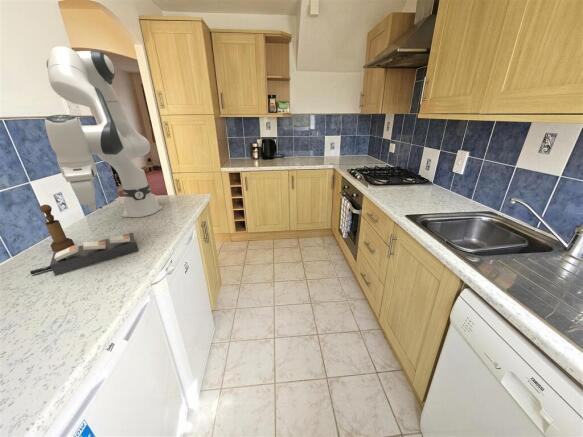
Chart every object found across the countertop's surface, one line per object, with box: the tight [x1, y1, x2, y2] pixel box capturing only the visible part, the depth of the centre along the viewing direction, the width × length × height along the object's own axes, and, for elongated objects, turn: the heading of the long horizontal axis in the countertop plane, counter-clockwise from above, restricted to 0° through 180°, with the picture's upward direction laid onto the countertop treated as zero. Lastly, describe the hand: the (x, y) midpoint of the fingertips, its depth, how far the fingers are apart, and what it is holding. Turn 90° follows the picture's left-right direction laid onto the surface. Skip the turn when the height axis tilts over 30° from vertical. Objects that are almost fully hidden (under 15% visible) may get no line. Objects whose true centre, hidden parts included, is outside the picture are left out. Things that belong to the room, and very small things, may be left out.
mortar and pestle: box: [39, 204, 75, 253], centre depth 93 cm, size 7×6×18 cm
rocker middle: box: [82, 240, 106, 250], centre depth 86 cm, size 4×6×1 cm, turn 127°
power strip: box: [29, 232, 139, 276], centre depth 87 cm, size 10×30×5 cm, turn 127°
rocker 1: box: [54, 244, 79, 261], centre depth 81 cm, size 4×6×1 cm, turn 127°
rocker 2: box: [108, 234, 130, 243], centre depth 90 cm, size 4×6×1 cm, turn 127°
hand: (93, 209), depth 84 cm, fingers closed
